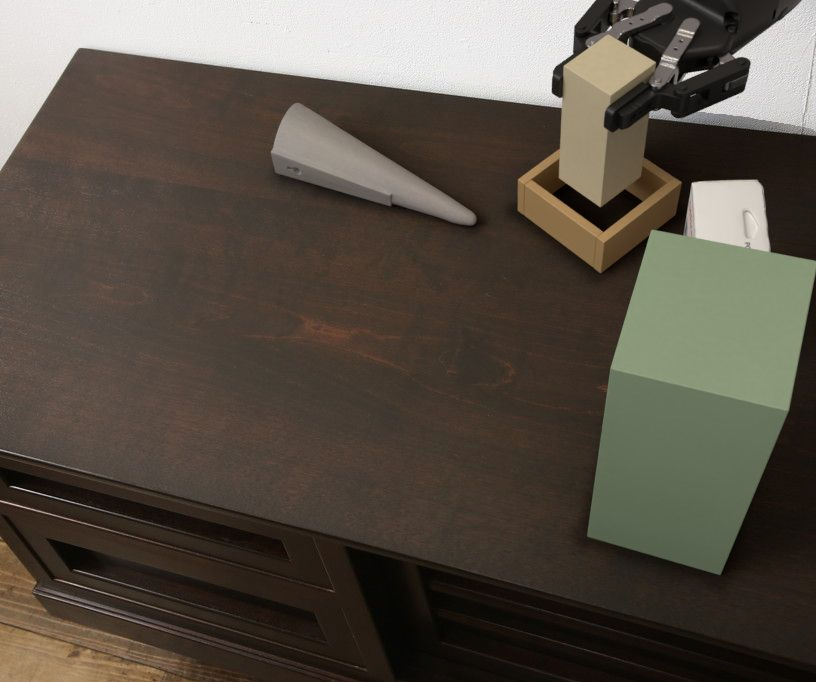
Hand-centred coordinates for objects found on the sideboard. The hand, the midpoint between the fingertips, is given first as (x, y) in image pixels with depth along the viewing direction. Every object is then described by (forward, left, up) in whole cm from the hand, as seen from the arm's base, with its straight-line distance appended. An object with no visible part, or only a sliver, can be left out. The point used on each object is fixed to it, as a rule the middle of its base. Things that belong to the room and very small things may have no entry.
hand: (582, 103), depth 79 cm
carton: (-1, -2, -10) cm, 10 cm away
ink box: (-12, +6, -15) cm, 20 cm away
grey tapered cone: (+17, -1, -15) cm, 23 cm away
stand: (-12, +22, -14) cm, 29 cm away
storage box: (-1, -2, -14) cm, 15 cm away
